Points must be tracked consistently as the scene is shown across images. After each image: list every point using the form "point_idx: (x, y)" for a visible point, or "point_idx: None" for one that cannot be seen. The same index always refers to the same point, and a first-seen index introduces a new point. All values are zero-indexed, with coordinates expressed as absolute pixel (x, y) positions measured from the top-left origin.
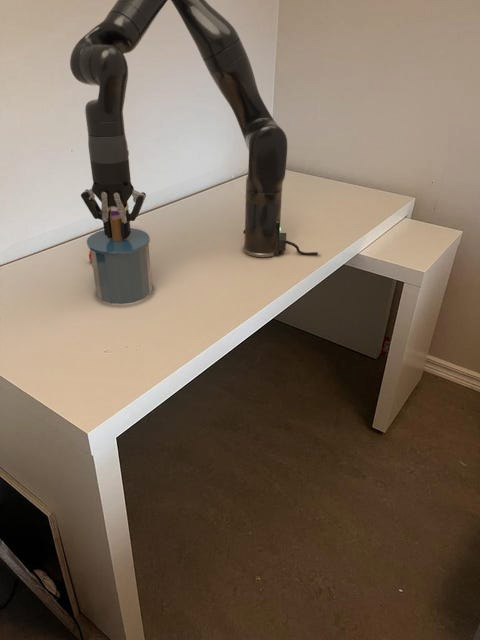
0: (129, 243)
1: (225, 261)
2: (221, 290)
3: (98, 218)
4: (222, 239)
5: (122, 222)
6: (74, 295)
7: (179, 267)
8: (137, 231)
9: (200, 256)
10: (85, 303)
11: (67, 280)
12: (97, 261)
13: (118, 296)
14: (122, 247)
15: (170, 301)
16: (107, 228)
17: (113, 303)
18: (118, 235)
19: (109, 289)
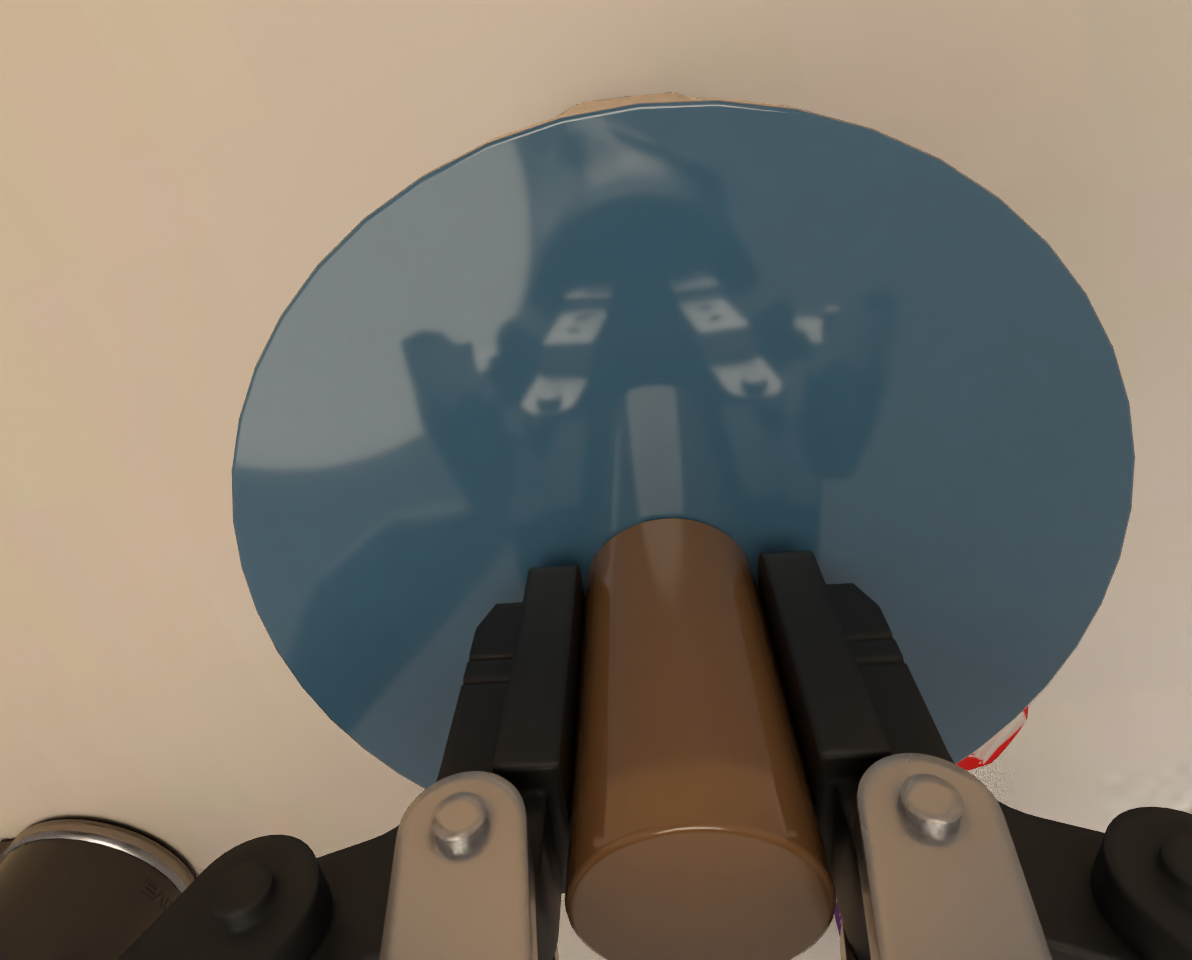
0: (456, 495)
1: (217, 764)
2: (38, 475)
3: (1095, 838)
4: None
5: (537, 798)
6: (1020, 192)
7: None
8: None
9: (372, 789)
10: (898, 77)
11: None
12: None
13: (600, 103)
14: (490, 345)
15: (265, 264)
16: (834, 659)
17: (652, 94)
18: (629, 582)
19: (680, 98)
